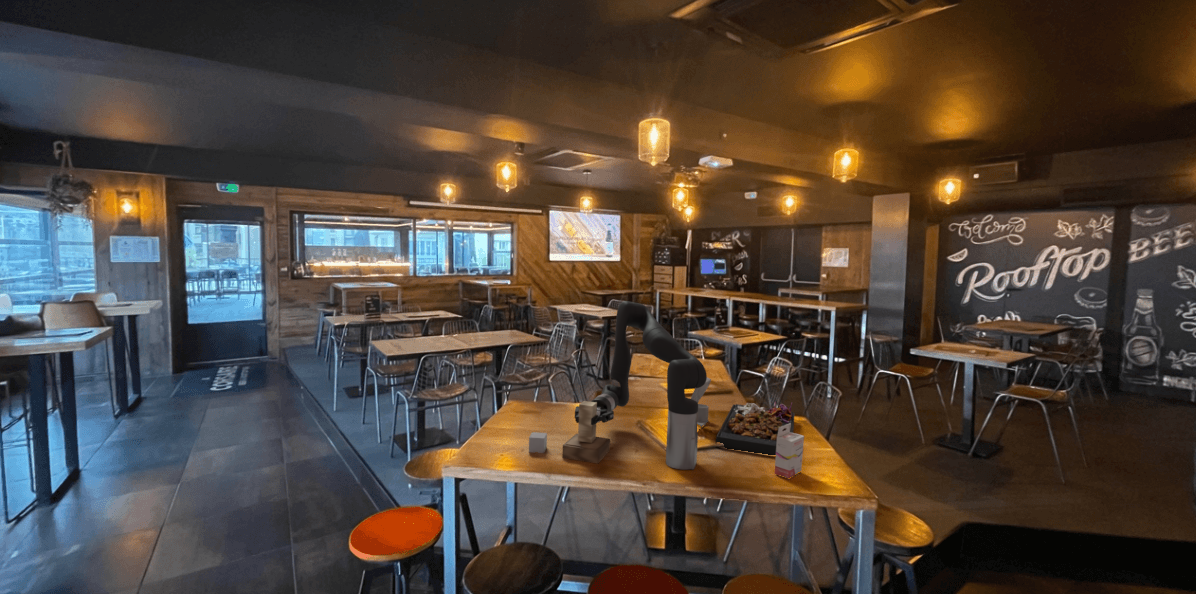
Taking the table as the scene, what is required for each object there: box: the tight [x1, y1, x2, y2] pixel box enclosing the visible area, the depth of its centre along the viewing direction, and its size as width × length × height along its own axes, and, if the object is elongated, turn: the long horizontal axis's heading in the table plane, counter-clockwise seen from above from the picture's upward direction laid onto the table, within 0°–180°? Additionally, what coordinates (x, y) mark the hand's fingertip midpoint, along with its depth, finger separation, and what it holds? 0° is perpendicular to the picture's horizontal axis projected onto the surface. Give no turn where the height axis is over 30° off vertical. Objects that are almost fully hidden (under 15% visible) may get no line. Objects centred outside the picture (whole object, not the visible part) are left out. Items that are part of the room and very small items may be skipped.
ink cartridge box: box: [774, 423, 805, 479], centre depth 157 cm, size 9×5×15 cm, turn 134°
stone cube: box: [528, 431, 548, 454], centre depth 170 cm, size 5×5×5 cm
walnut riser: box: [561, 433, 611, 464], centre depth 168 cm, size 12×12×4 cm
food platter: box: [715, 401, 795, 455], centre depth 194 cm, size 45×25×10 cm, turn 158°
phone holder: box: [690, 376, 712, 428], centre depth 202 cm, size 17×10×18 cm, turn 153°
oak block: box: [577, 400, 597, 443], centre depth 167 cm, size 4×4×12 cm
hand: (584, 420), depth 165 cm, fingers closed on oak block, 4 cm apart
